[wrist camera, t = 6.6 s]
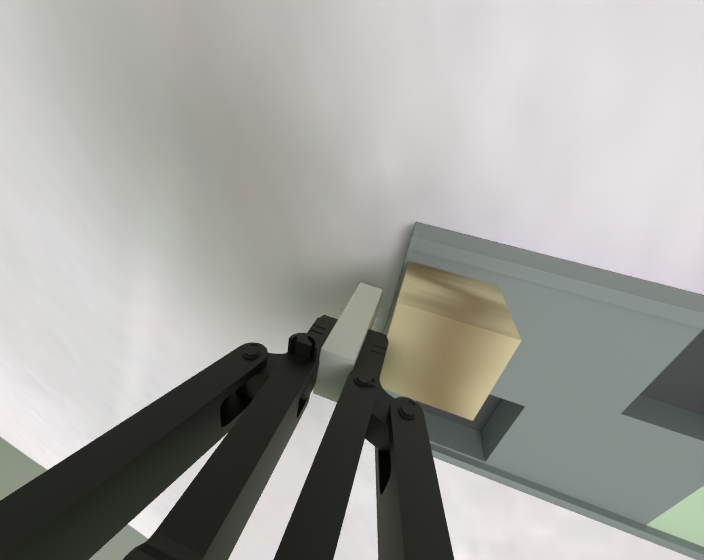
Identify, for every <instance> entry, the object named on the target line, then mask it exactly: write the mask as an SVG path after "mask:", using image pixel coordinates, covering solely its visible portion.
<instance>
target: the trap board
mask: <svg viewBox="0 0 704 560" xmlns="http://www.w3.org/2000/svg"><path fill="white" fill-rule="evenodd" d="M409 261H412V262H416V263H419V264H423V265H426V266H430V267H434V268H437V269H441V270H444V271H448V272H452V273H455V274H459V275H462V276H466V277H469V278H473V279H477V280H480V281H484V282H487V283H491V284H495V285H498V286H499V288H500V291H501V293H502V295H503V298H504V300H505V302H506V305H507V307H508V309H509V312H510V314H511V317H512V319H513V321H514V324H515V326H516V328H517V331H518V333H519V335H520V338H521V340H522V341H521V342H520V344H519V346H518V347H517V349H516V351H515V352H514V354H513V356H512V357H511V359H510V361H509V362H508V364H507V365H506V367H505V369H504V370H503V372H502V374H501V375H500V377H499V379H498V380H497V382H496V384H495V385H494V387H493V389H492V390H491V392H490V394H489V395H488V397H487V399H486V400H485V402H484V403H483V405H482V407H481V408H480V410H479V412H478V413H477V415H476V417H475V418H474V420H473V421H472V420H469V419H466V418H464V417H461V416H458V415H455V414H452V413H450V412H447V411H444V410H441V409H438V408H436V407H433V406H430V405H427V404H424V403H422V402H419V401H416V400H414V401H415V402H417V403H418V404H419V405H420V407H421V408H422V410H423V413H424V416H425V421H426V426H427V431H428V436H429V441H430V445H431V450H432V455H433V457H435V458H437V459H440V460H442V461H445V462H447V463H450V464H452V465H455V466H458V467H460V468H463V469H465V470H468V471H470V472H473V473H476V474H478V475H481V476H483V477H486V478H488V479H491V480H494V481H496V482H499V483H501V484H504V485H506V486H509V487H511V488H514V489H517V490H519V491H522V492H524V493H527V494H529V495H532V496H535V497H537V498H540V499H542V500H545V501H547V502H550V503H553V504H555V505H558V506H560V507H563V508H565V509H568V510H570V511H573V512H576V513H578V514H581V515H583V516H586V517H588V518H591V519H594V520H596V521H599V522H601V523H604V524H606V525H609V526H612V527H614V528H617V529H619V530H622V531H624V532H627V533H630V534H632V535H635V536H637V537H640V538H642V539H645V540H647V541H650V542H653V543H655V544H658V545H660V546H663V547H665V548H668V549H671V550H673V551H676V552H678V553H681V554H683V555H686V556H689V557H691V558H694V559H696V560H704V295H701V294H697V293H693V292H689V291H685V290H681V289H678V288H674V287H670V286H666V285H662V284H658V283H654V282H650V281H646V280H642V279H638V278H634V277H630V276H627V275H623V274H619V273H615V272H611V271H607V270H603V269H599V268H595V267H591V266H587V265H583V264H579V263H576V262H572V261H568V260H564V259H560V258H556V257H552V256H548V255H544V254H540V253H536V252H532V251H528V250H525V249H521V248H517V247H513V246H509V245H505V244H501V243H497V242H493V241H489V240H485V239H481V238H477V237H474V236H470V235H466V234H462V233H458V232H454V231H450V230H446V229H442V228H438V227H434V226H430V225H427V224H423V223H419V222H416V225H415V228H414V231H413V234H412V238H411V241H410V244H409V248H408V251H407V255H406V258H405V261H404V265H403V268H402V271H401V275H400V278H399V281H398V285H397V288H396V291H395V295H394V298H393V301H392V305H391V308H390V312H389V315H388V318H387V322H386V325H385V328H384V332H383V334H385V335H386V334H387V331H388V327H389V324H390V321H391V318H392V314H393V311H394V308H395V305H396V301H397V298H398V295H399V292H400V288H401V285H402V282H403V278H404V275H405V272H406V269H407V265H408V262H409ZM384 390H385V389H384ZM385 391H386V392H387V393H388V394H389V395H391V396H392V397H394V398H398V397H405V396H402V395H399V394H397V393H394V392H391V391H388V390H385Z"/></svg>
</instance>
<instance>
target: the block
mask: <svg viewBox="0 0 704 560" xmlns="http://www.w3.org/2000/svg"><path fill="white" fill-rule="evenodd" d="M386 335H387V338H388V341H389V344H388V348H387V351H386V355H385V359H384V363H383V367H382V371H381V374H380V383H381V386H382V388H383V389H385V390H388V391H391V392H394V393H397V394H399V395H402V396H405V397H408V398H411V399H413V400H416V401H419V402H422V403H424V404H427V405H430V406H433V407H436V408H438V409H441V410H444V411H447V412H450V413H452V414H455V415H458V416H461V417H464V418H466V419H469V420H472V421H473V420H474V418H475V417H476V415H477V413H478V412H479V410H480V408H481V407H482V405H483V403H484V402H485V400H486V399H487V397H488V395H489V394H490V392H491V390H492V389H493V387H494V385H495V384H496V382H497V380H498V379H499V377H500V375H501V374H502V372H503V370H504V369H505V367H506V365H507V364H508V362H509V361H510V359H511V357H512V356H513V354H514V352H515V351H516V349H517V347H518V346H519V344H520V342H521V341H522V340H521V338H520V335H519V333H518V331H517V328H516V326H515V324H514V321H513V319H512V317H511V314H510V312H509V309H508V307H507V305H506V302H505V300H504V298H503V295H502V293H501V291H500V288H499V286H498V285H495V284H491V283H487V282H484V281H480V280H477V279H473V278H469V277H466V276H462V275H459V274H455V273H452V272H448V271H444V270H441V269H437V268H434V267H430V266H426V265H423V264H419V263H416V262H412V261H409V262H408V265H407V269H406V272H405V275H404V278H403V282H402V285H401V288H400V292H399V295H398V298H397V301H396V305H395V308H394V311H393V314H392V318H391V321H390V324H389V327H388V331H387V334H386Z"/></svg>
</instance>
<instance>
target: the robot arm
mask: <svg viewBox="0 0 704 560" xmlns="http://www.w3.org/2000/svg"><path fill="white" fill-rule="evenodd" d="M382 291H383V289H380V288H377V287H374V286H371V285H367V284H364V283H361V282H360V284H359V285H358V287H357V289H356V290H355V292H354V294H353V295H352V297H351V299H350V300H349V302H348V304H347V306H346V307H345V309H344V311H343V312H342V314H341V316H340V317H339V319H335V318H332V317H329V316H326V315H323V316H321V317H320V318H318V319H317V320H316V321H315V323H314V324H313V326H312V327H311V328H310V330H309V331H308V332H307V333H297V334H294V335H292V336H291V337H290V338H289V344H288V352H287V353H285V354H273V353H268V352H267V348H266V347H264V346H263V345H262V344H259V343H246V344H244V345H241V346H240V347H238V348H236V349H235V350H233V351H232V352H230V353H229V354H227V355H226V356H224V357H223V358H221V359H219V360H218V361H216V362H215V363H213V364H212V365H210V366H209V367H207V368H205V369H204V370H202V371H201V372H199V373H198V374H196V375H195V376H193V377H191V378H190V379H188V380H187V381H185V382H184V383H182V384H181V385H179V386H178V387H176V388H174V389H173V390H171V391H170V392H168V393H167V394H165V395H164V396H162V397H160V398H159V399H157V400H156V401H154V402H153V403H151V404H150V405H148V406H147V407H145V408H143V409H142V410H140V411H139V412H137V413H136V414H134V415H133V416H131V417H129V418H128V419H126V420H125V421H123V422H122V423H120V424H119V425H117V426H115V427H114V428H112V429H111V430H109V431H108V432H106V433H105V434H103V435H102V436H100V437H98V438H97V439H95V440H94V441H92V442H91V443H89V444H88V445H86V446H84V447H83V448H81V449H80V450H78V451H77V452H75V453H74V454H72V455H71V456H69V457H67V458H66V459H64V460H63V461H61V462H60V463H58V464H57V465H55V466H53V467H52V468H50V469H49V470H47V471H46V472H44V473H43V474H41V475H40V476H38V477H36V478H35V479H33V480H32V481H30V482H29V483H27V484H26V485H24V486H22V487H21V488H19V489H18V490H16V491H15V492H13V493H12V494H10V495H9V496H7V497H5V498H4V499H2V500H1V501H0V560H89V559H90V558H91V557H92V556H93V555H94V554H95V553H96V552H97V551H98V550H99V549H101V548H102V546H104V545H105V544H106V543H107V542H108V541H109V540H110V539H112V538H113V537H114V536H115V535H116V534H117V533H118V532H119V531H120V530H121V529H123V527H125V526H126V525H127V524H128V523H129V522H130V521H131V520H132V519H134V518H135V517H136V516H137V515H138V514H139V513H140V512H141V511H142V510H143V509H144V508H146V507H147V506H148V505H149V504H150V503H151V502H152V501H153V500H154V499H155V498H157V497H158V496H159V495H160V494H161V493H162V492H163V491H164V490H165V489H166V488H167V487H169V486H170V485H171V484H172V483H173V482H174V481H175V480H176V479H177V478H178V477H180V476H181V475H182V474H183V473H184V472H185V471H186V470H187V469H188V468H189V467H191V466H192V465H193V464H194V463H195V462H196V461H197V460H198V459H199V458H200V457H201V456H203V455H204V454H205V453H206V452H207V451H208V450H209V449H210V448H211V447H212V446H214V445H215V444H216V443H217V442H218V441H219V440H220V439H221V438H222V437H223V436H225V435H226V434H227V433H228V434H227V435H226V436H225V438H224V439H223V441H222V442H221V443H220V445H219V446H218V447H217V449H216V450H215V451H214V453H213V454H212V455H211V457H210V458H209V459H208V461H207V462H206V464H205V465H204V466H203V468H202V469H201V470H200V472H199V473H198V474H197V476H196V477H195V478H194V480H193V481H192V482H191V484H190V485H189V487H188V488H187V489H186V491H185V492H184V493H183V495H182V496H181V497H180V499H179V500H178V501H177V503H176V504H175V506H174V507H173V508H172V510H171V511H170V512H169V514H168V515H167V516H166V518H165V519H164V520H163V522H162V523H161V524H160V526H159V527H158V529H157V530H156V531H155V532H154V534H153V535H152V536H151V537H150V538H149V539H148V540H147V541H146V542H145V543H143V544H141V545H139V546H137V547H136V548H134V549H133V550H132V551H131V552H130V553H129V554H128V555H126V556H125V558H124V559H123V560H228V558H229V556H230V555H231V553H232V551H233V549H234V547H235V545H236V543H237V541H238V539H239V537H240V535H241V533H242V531H243V529H244V527H245V525H246V523H247V521H248V519H249V517H250V515H251V514H252V512H253V510H254V508H255V506H256V504H257V502H258V500H259V498H260V496H261V494H262V492H263V490H264V488H265V486H266V484H267V482H268V480H269V478H270V476H271V474H272V473H273V471H274V469H275V467H276V465H277V463H278V461H279V459H280V457H281V455H282V453H283V451H284V449H285V447H286V445H287V443H288V441H289V439H290V437H291V435H292V433H293V431H294V430H295V428H296V426H297V424H298V422H299V420H300V418H301V416H302V414H303V412H304V410H305V408H306V406H307V404H308V402H309V397H310V393H311V392H312V390H313V388H314V390H313V393H314V394H317V395H320V396H322V397H325V398H327V399H330V400H332V401H335V402H337V404H336V407H335V409H334V412H333V414H332V417H331V419H330V422H329V424H328V427H327V429H326V431H325V434H324V436H323V439H322V441H321V444H320V446H319V449H318V451H317V454H316V456H315V459H314V461H313V464H312V466H311V469H310V471H309V474H308V476H307V478H306V481H305V483H304V486H303V488H302V491H301V493H300V496H299V498H298V501H297V503H296V506H295V508H294V511H293V513H292V516H291V518H290V520H289V523H288V525H287V528H286V530H285V533H284V535H283V538H282V540H281V543H280V545H279V548H278V550H277V553H276V555H275V558H274V560H333V558H334V554H335V551H336V547H337V543H338V539H339V535H340V531H341V527H342V524H343V520H344V516H345V512H346V508H347V504H348V501H349V497H350V493H351V489H352V485H353V481H354V478H355V474H356V470H357V466H358V462H359V458H360V455H361V451H362V447H363V443H364V439H367V440H368V441H369V442H370V443H372V444H373V445H374V446H375V464H376V497H377V530H378V560H454V556H453V552H452V547H451V542H450V537H449V532H448V527H447V523H446V518H445V513H444V508H443V503H442V498H441V494H440V489H439V484H438V479H437V474H436V469H435V465H434V460H433V455H432V450H431V445H430V441H429V436H428V431H427V426H426V421H425V416H424V413H423V410H422V408H421V407H420V405H419V404H418V403H417V402H415V401H414V400H413V399H411V398H408V397H398V398H394V397H392V396H391V395H389V394H388V393H387V392H386V391H385V390H384V389H383V388H382V386H381V383H380V374H381V371H382V367H383V363H384V359H385V355H386V351H387V348H388V344H389V341H388V338H387V335H385V334H382V333H379V332H376V331H373V330H371V329H372V326H373V323H374V319H375V316H376V312H377V309H378V305H379V302H380V298H381V295H382Z"/></svg>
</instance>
